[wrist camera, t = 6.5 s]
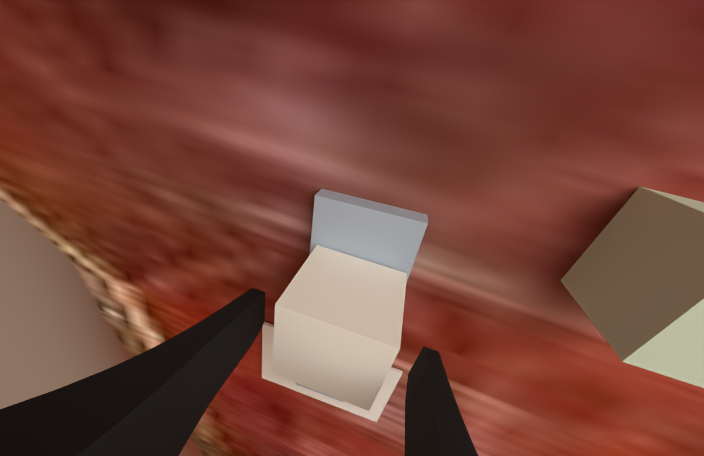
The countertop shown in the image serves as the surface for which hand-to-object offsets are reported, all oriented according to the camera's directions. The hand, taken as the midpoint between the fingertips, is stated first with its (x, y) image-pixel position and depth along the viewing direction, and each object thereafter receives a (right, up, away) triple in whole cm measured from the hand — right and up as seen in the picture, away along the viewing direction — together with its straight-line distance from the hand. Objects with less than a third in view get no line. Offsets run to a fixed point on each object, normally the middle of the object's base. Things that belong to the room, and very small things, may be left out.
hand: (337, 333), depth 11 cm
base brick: (+1, +2, +4) cm, 4 cm away
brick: (+1, +1, +2) cm, 3 cm away
